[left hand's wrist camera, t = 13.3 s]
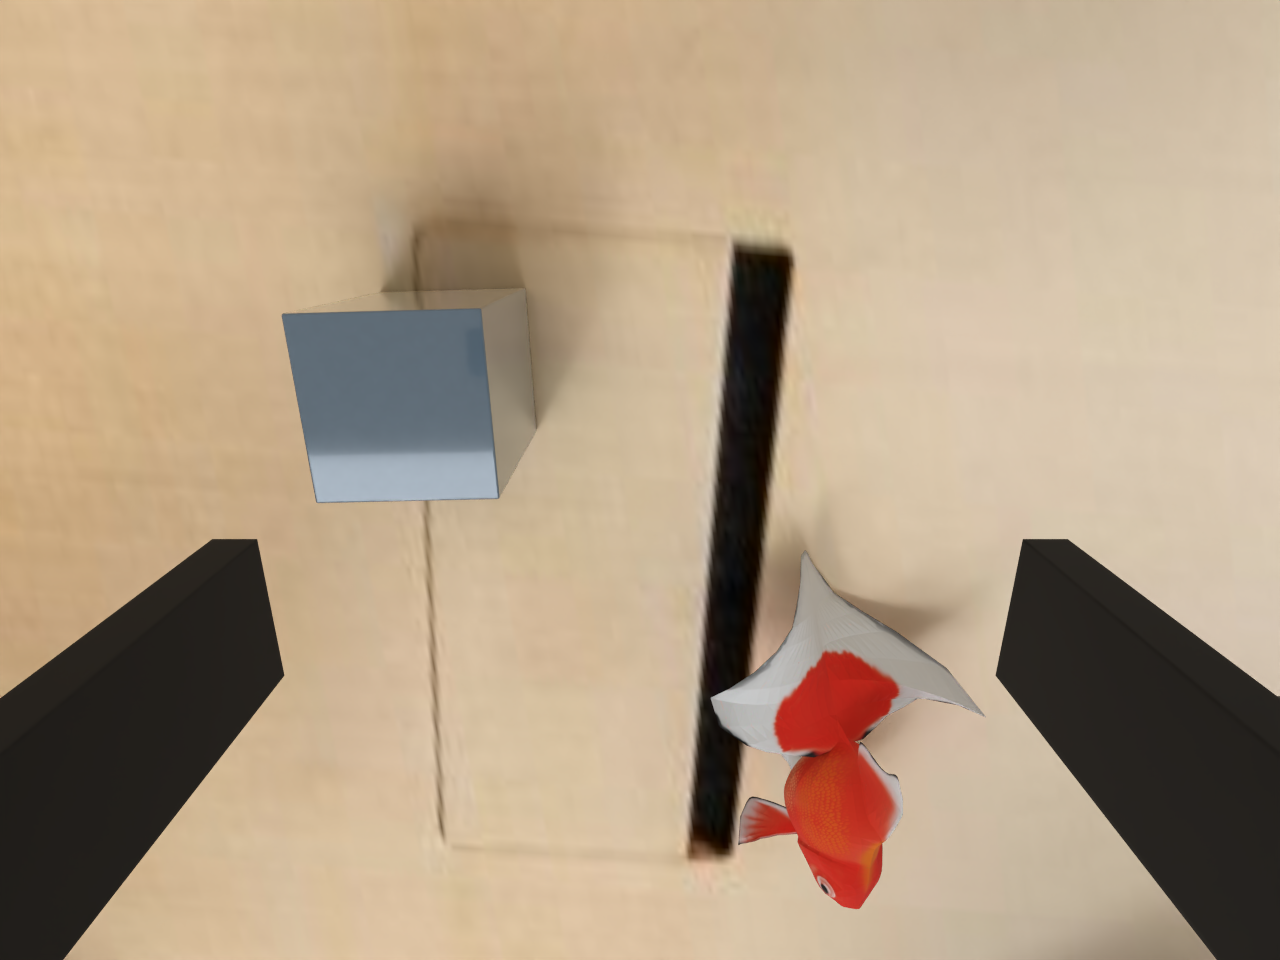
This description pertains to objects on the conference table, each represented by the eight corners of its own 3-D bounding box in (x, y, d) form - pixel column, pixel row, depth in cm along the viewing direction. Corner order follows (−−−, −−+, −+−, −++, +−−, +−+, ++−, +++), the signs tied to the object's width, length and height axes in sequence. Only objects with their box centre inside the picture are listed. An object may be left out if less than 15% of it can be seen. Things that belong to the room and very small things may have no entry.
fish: (645, 873, 34) (761, 1003, 24) (678, 539, 35) (798, 543, 26) (832, 859, 38) (993, 966, 28) (854, 560, 39) (1011, 570, 30)
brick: (525, 287, 30) (480, 307, 22) (536, 431, 32) (499, 499, 24) (379, 292, 30) (280, 313, 22) (399, 435, 32) (315, 503, 24)
